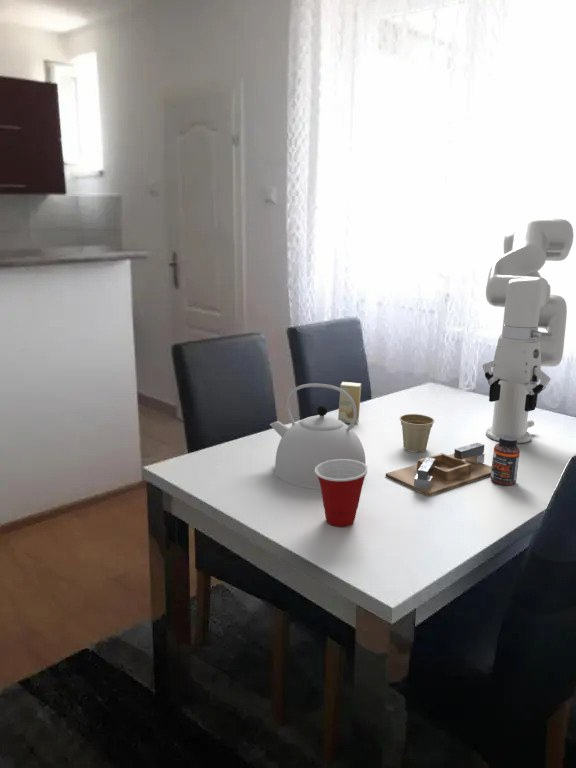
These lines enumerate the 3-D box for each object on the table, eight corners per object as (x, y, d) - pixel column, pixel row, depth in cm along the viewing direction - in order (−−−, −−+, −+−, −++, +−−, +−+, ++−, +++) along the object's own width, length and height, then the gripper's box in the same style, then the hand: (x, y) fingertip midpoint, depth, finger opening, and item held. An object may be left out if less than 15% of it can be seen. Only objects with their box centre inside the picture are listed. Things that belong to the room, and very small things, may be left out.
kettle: (251, 479, 150) (252, 388, 145) (284, 449, 171) (286, 369, 166) (352, 496, 142) (357, 400, 137) (374, 462, 163) (379, 378, 157)
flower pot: (432, 456, 168) (434, 425, 166) (397, 453, 170) (399, 422, 167) (431, 444, 177) (434, 415, 175) (398, 441, 178) (400, 412, 176)
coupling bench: (455, 455, 168) (456, 444, 167) (499, 472, 157) (500, 460, 156) (385, 476, 153) (386, 463, 153) (428, 496, 142) (429, 483, 142)
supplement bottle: (489, 483, 150) (493, 439, 147) (491, 475, 155) (495, 432, 153) (515, 488, 148) (520, 442, 145) (516, 479, 153) (521, 435, 150)
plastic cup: (310, 510, 134) (311, 457, 132) (359, 509, 135) (362, 457, 132) (316, 534, 124) (318, 477, 121) (370, 532, 125) (373, 476, 122)
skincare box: (337, 422, 195) (339, 384, 192) (339, 418, 199) (341, 381, 196) (358, 424, 194) (360, 386, 191) (359, 420, 198) (361, 382, 195)
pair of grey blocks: (473, 458, 164) (475, 441, 163) (499, 467, 158) (500, 450, 157) (398, 481, 149) (400, 463, 148) (423, 492, 142) (425, 473, 141)
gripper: (563, 337, 138) (554, 412, 142) (497, 327, 152) (490, 395, 156) (544, 340, 134) (534, 417, 138) (477, 329, 147) (471, 399, 151)
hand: (511, 405), depth 147 cm, fingers open, 9 cm apart
